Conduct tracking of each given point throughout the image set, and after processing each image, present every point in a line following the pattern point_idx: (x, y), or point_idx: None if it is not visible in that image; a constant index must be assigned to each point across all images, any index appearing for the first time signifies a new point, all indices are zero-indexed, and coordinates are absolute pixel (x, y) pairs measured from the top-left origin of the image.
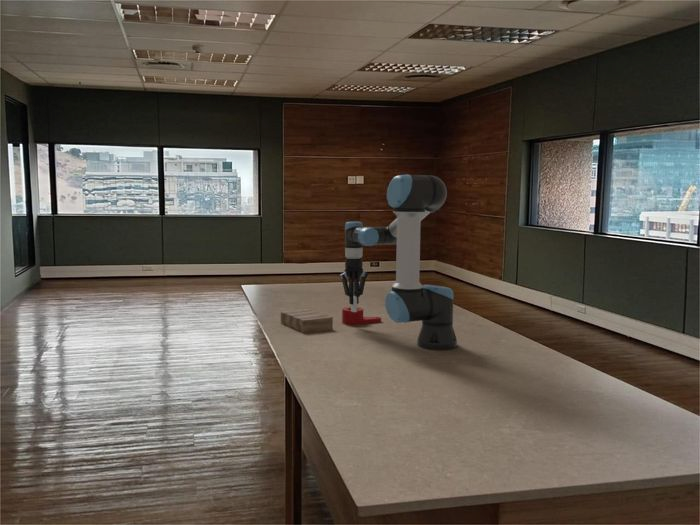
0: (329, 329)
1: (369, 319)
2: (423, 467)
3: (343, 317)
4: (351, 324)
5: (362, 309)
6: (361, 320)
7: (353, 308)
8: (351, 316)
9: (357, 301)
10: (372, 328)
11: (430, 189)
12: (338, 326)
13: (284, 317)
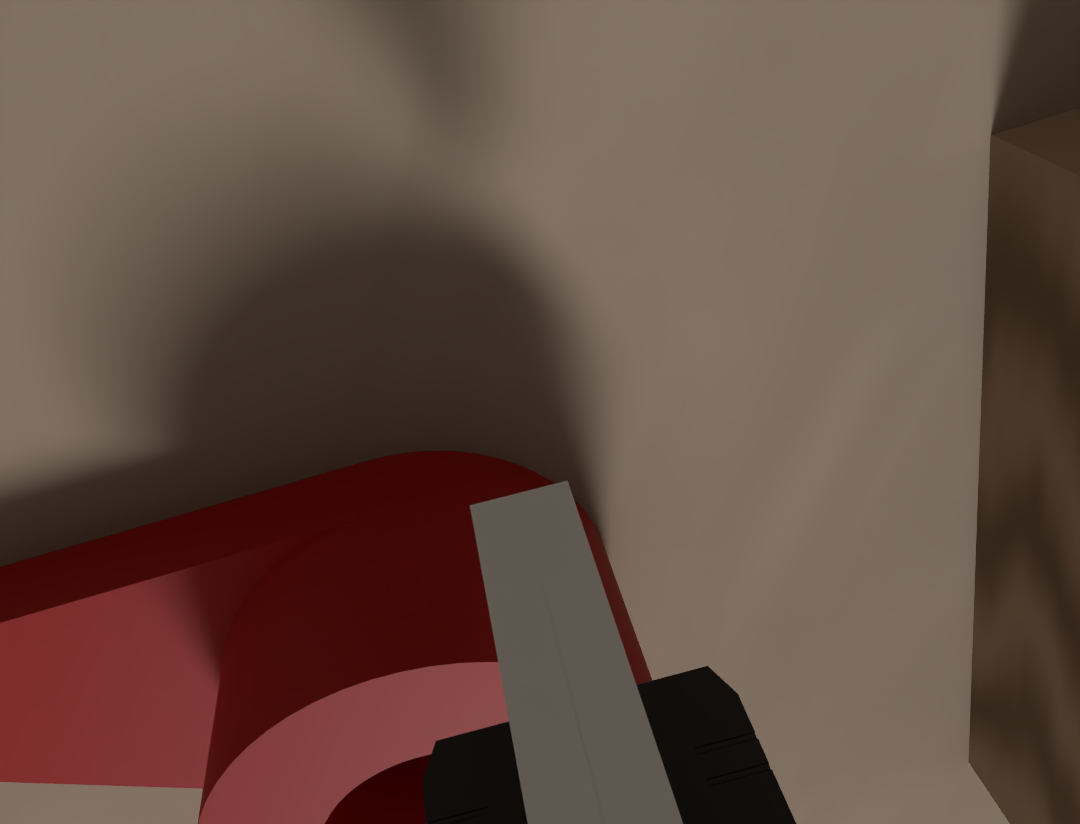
0: (1075, 119)
1: (92, 595)
2: None
3: (638, 642)
4: (500, 470)
5: (225, 798)
6: (288, 538)
7: (594, 573)
8: None
9: (469, 817)
10: (92, 96)
11: None
12: (750, 416)
13: None
